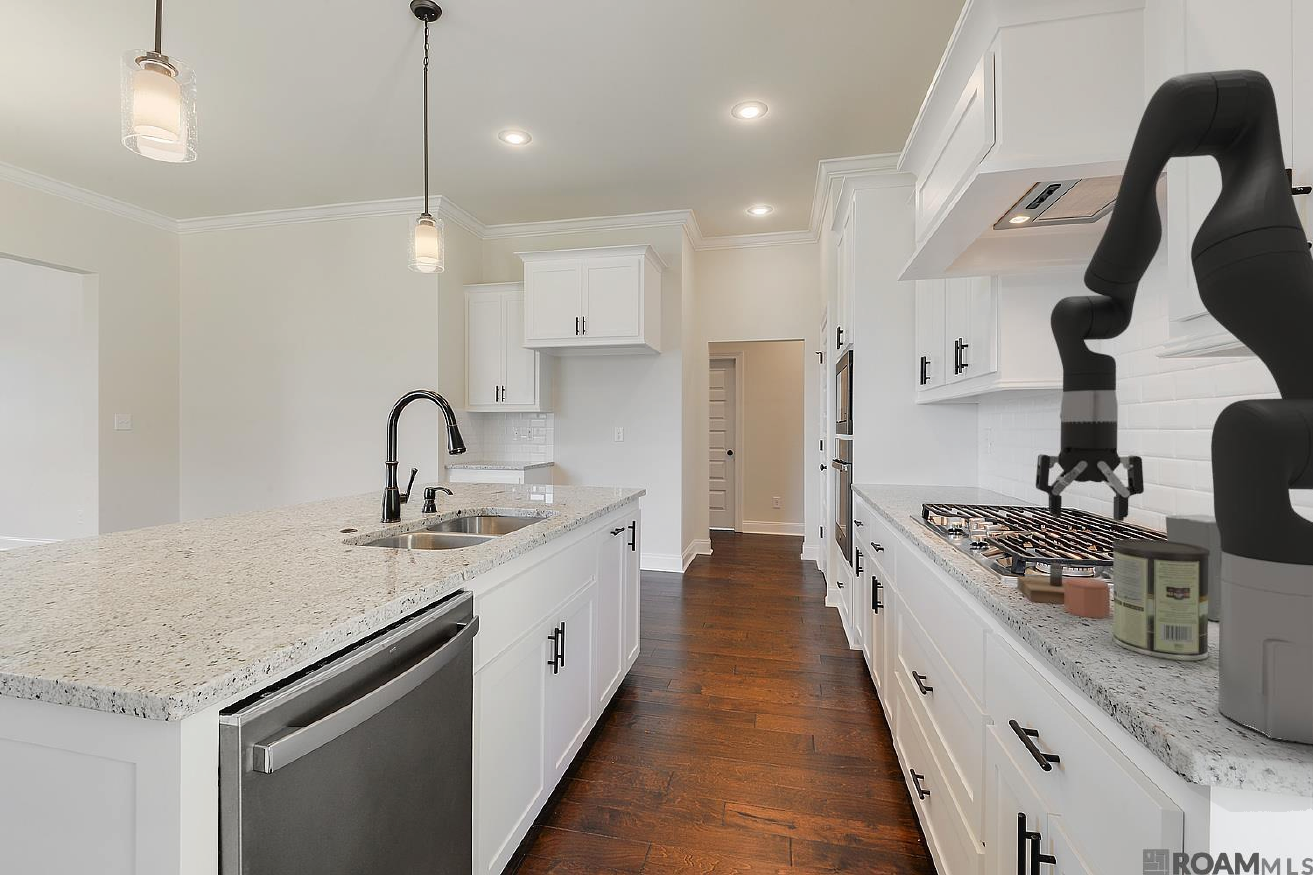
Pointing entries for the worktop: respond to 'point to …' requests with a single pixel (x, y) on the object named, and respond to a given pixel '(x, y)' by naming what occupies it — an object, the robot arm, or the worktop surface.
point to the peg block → (1044, 586)
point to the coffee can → (1161, 598)
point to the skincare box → (1204, 535)
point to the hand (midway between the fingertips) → (1087, 518)
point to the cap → (1087, 597)
